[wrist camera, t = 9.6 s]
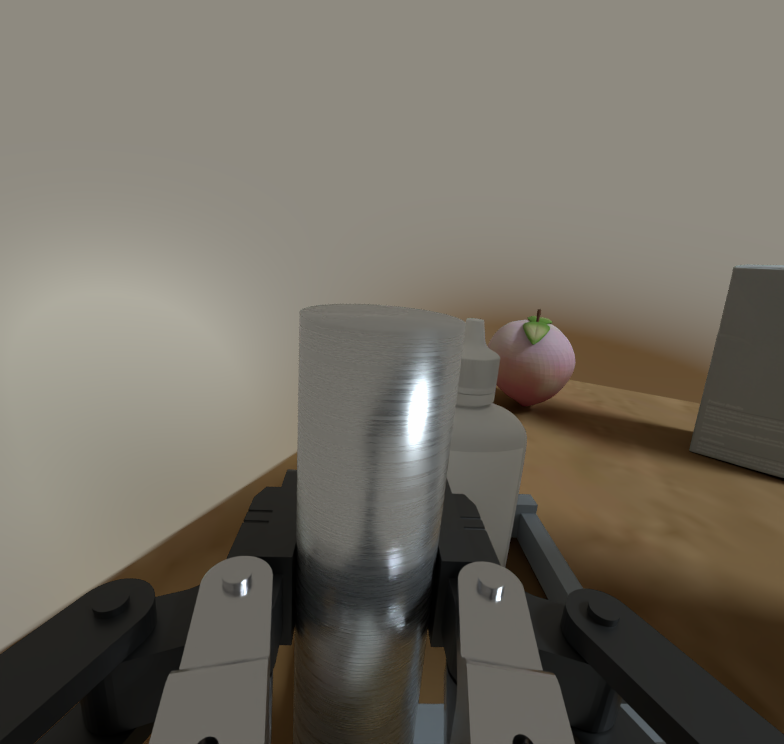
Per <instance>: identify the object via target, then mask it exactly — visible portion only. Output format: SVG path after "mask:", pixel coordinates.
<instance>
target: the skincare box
mask: <svg viewBox="0 0 784 744" xmlns="http://www.w3.org/2000/svg"><path fill="white" fill-rule="evenodd" d="M690 451H691V452H694V453H698V454H701V455H705V456H708V457H712V458H715V459H718V460H722V461H725V462H729V463H732V464H736V465H739V466H742V467H746V468H749V469H753V470H756V471H760V472H763V473H767V474H770V475H774V476H777V477H780V478H784V266H782V265H740V266H735V267H734V268H733V273H732V277H731V282H730V286H729V290H728V294H727V298H726V302H725V307H724V311H723V315H722V319H721V324H720V328H719V332H718V335H717V339H716V343H715V347H714V351H713V356H712V360H711V364H710V368H709V372H708V376H707V379H706V383H705V388H704V392H703V396H702V400H701V404H700V408H699V412H698V416H697V420H696V424H695V428H694V432H693V436H692V440H691V445H690Z"/></svg>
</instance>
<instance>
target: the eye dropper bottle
mask: <svg viewBox="0 0 784 744" xmlns="http://www.w3.org/2000/svg"><path fill="white" fill-rule="evenodd" d="M484 331H485V330H484V320H481V319H474V318H468V319H467V320H466V327H465V335H464V343H463V351H462V359H461V367H460V375H459V383H458V391H457V399H456V407H455V415H454V423H453V431H452V439H451V447H450V455H449V463H448V471H447V480H448V483H449V486H450V489H451V492H452V494H465V495H466V496H467V497H468V498H469V499H470V500H471V501H472V502H473V503H474V504H475V505H476V507H477V510H478V512H479V514H480V517H481V520H482V521H483V524H484V526H485V530H486V531H487V533H488V536H489V538H490V541H491V543H492V545H493V548H494V550H495V553H496V555H497V557H498V560H499V562H500V565H501V566H502V567H504V568H505V567H506V561H507V556H508V550H509V545H510V539H511V534H512V528H513V522H514V517H515V511H516V506H517V500H518V494H519V488H520V483H521V477H522V471H523V465H524V458H525V452H526V443H527V436H526V431H525V428H524V427H523V425H522V423H521V422H520V421H519V420H518V418H517V417H516V416H515V415H514V414H512V413H511V412H510V411H508V410H507V409H505V408H503V407H501V406H498V405H496V404H493V402H494V397H495V390H496V384H497V377H498V371H499V364H500V356H499V355H498V354H497V353H496V352H494V351H492V350H491V349H489V348H488V347H487V345H486V343H485V332H484Z"/></svg>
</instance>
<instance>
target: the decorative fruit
mask: <svg viewBox="0 0 784 744" xmlns="http://www.w3.org/2000/svg"><path fill="white" fill-rule="evenodd" d="M540 315H541V310H540V309H539V310H538V311H537V316H531V317H528V320H520V321H514V322H510V323H508V324H506V325H504V326H503V327H501V328H500V329H499V330H498V331H497V332H496V333H495V334H494V336H493V337H492V339H491V340H490V342H489V345H488V348H489V349H491V350H492V351H494V352H496V353H497V354H498V355H499V356H500V364H499V371H498V377H497V384H496V385H497V386H498V387H499V388H500V389H501V390H502V391H503V392H504V393H505V394H506V395H508V396H509V397H510V398H512V399H514V400H515V401H517V402H518V403H520V404H521V406H530V405H534V404H537V403H540V402H543V401H546V400H548V399H550V398H551V397H553V396H554V395H555V394H557V393H558V392H559V391H560V390H561V389H562V388H563V387H564V386H565V384H566V383H567V382H568V380H569V378H570V377H571V375H572V373H573V370H574V367H575V356H574V352H573V349H572V346H571V344H570V343H569V340H568V339H567V338H566V336H564V335H563V334H562V332H561V331H560V330H559V329H558V328H556V327H555V326H553V325H551V323H552V322H551V321H550V320H549V319H547V318H542V317H540Z"/></svg>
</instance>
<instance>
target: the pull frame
mask: <svg viewBox="0 0 784 744" xmlns="http://www.w3.org/2000/svg"><path fill="white" fill-rule="evenodd" d="M465 327H466V323H465V322H464V321H463V320H461V319H458V318H456V317H453V316H449V315H446V314H442V313H438V312H432V311H427V310H420V309H414V308H406V307H397V306H385V305H369V304H330V305H318V306H311V307H307V308H304V309H302V310H301V311H300V327H299V393H298V396H299V397H298V457H297V521H296V596H295V651H294V716H293V744H444V704H418V702H419V694H420V686H421V678H422V670H423V662H424V654H425V646H426V638H427V630H428V622H429V614H430V606H431V598H432V590H433V582H434V574H435V566H436V558H437V550H438V542H439V534H440V526H441V518H442V510H443V502H444V494H445V486H446V478H447V471H448V463H449V455H450V447H451V439H452V431H453V423H454V415H455V407H456V399H457V391H458V383H459V375H460V367H461V359H462V351H463V343H464V335H465ZM537 506H538V505H537V504H536V502H535V501H534V499H533V498H532V496H531V495H527V494H518V500H517V506H516V511H515V517H514V522H513V528H512V534H511V537H512V538H517V540H518V542H519V544H520V545H521V547H522V549H523V551H524V553H525V555H526V557H527V559H528V561H529V563H530V565H531V567H532V569H533V571H534V573H535V575H536V577H537V579H538V581H539V583H540V584H541V586H542V588H543V590H544V592H545V594H546V596H547V598H548V600H550V601H554V602H558V603H561V604H565V602H566V598H567V596H568V595H569V594H570V593H571V592H572V591H574V590H577V589H583V588H582V586H581V584H580V583H579V581H578V580H577V578H576V576H575V575H574V573H573V572H572V570H571V569H570V567H569V565H568V564H567V562H566V561H565V559H564V557H563V556H562V554H561V553H560V551H559V550H558V548H557V546H556V545H555V543H554V542H553V540H552V538H551V537H550V535H549V534H548V532H547V530H546V529H545V527H544V526H543V524H542V523H541V521H540V519H539V518H538V516H537V515H536V511H537ZM620 706H621V707H622V708H623V709H624V710H625V711H626V712H627V714H628V715H629V716H630V717H631V718H632V719H633V720H634V721H635V722H636V723H637V724H638V725H639V726H640V727H641V728H642V729H643V730H644V731H645V732H646V733H647V735H648V736H649V737H650V738H651V739H652V740H653V741H654V742H655V743H656V744H666V743H665V742H664V741H663V740H662V739H661V738H660V737H659V736H658V735H657V734H656V733H655V731H654V730H653V729H652V728H651V727H650V726H649V725H648V724H647V723H646V722H645V721H644V720H643V719H642V718H641V717H640V716H639V715H638V714H637V713H636V712H635V711H634V710H633V709H632V708H631V707H630V706H629V705H628V704H627V703H626V702H625V701H624V700H623V699H622V702H621V705H620Z"/></svg>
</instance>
